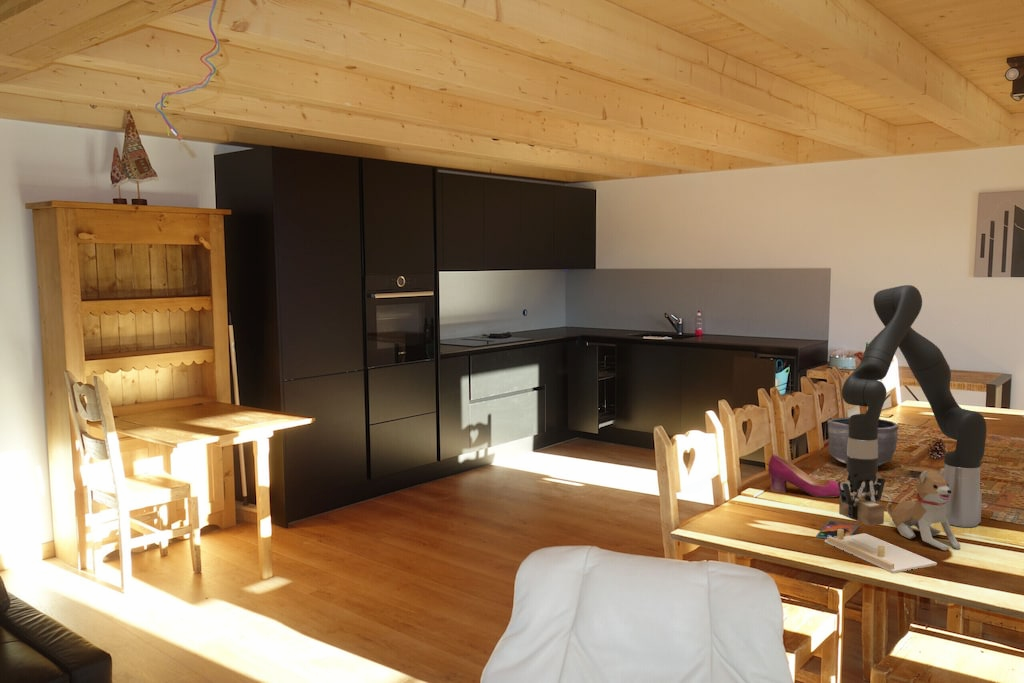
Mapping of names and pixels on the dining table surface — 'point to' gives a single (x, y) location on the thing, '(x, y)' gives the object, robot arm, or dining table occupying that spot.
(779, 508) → the dining table surface
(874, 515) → the brown rectangular block
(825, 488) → the high heel
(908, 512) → the toy
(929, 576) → the dining table surface
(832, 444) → the tea bowl
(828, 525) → the smartphone
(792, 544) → the dining table surface
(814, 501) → the dining table surface
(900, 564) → the wall board
